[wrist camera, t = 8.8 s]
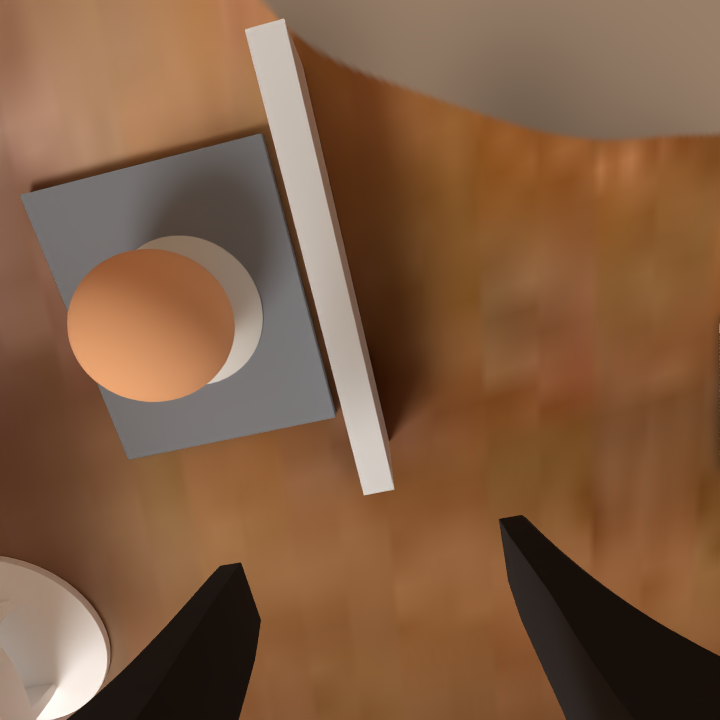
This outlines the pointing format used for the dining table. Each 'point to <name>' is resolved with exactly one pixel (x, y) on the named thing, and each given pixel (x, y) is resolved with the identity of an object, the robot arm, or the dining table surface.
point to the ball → (151, 325)
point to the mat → (219, 257)
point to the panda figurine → (47, 644)
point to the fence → (322, 246)
